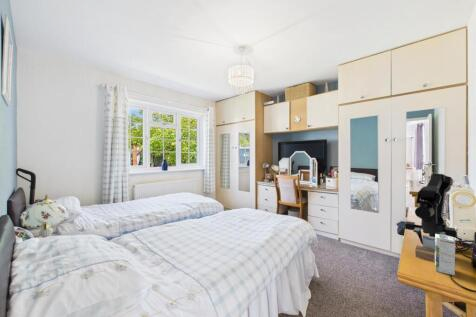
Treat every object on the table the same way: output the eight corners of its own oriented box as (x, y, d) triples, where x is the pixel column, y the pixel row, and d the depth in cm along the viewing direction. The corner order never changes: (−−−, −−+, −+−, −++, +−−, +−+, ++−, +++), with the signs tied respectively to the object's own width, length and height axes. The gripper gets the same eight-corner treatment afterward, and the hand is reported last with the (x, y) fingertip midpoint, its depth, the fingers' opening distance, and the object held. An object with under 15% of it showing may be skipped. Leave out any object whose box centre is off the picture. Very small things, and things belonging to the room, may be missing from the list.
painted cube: (422, 244, 107) (422, 235, 107) (436, 247, 104) (436, 237, 103) (422, 248, 103) (422, 238, 103) (436, 251, 100) (436, 240, 100)
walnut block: (417, 252, 105) (416, 245, 104) (436, 256, 100) (436, 249, 99) (415, 257, 100) (415, 250, 100) (435, 262, 95) (435, 255, 95)
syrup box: (434, 265, 92) (434, 233, 92) (453, 269, 88) (453, 236, 88) (435, 271, 88) (435, 237, 87) (456, 276, 84) (455, 240, 83)
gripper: (404, 215, 103) (404, 246, 103) (458, 222, 91) (458, 258, 91) (405, 210, 111) (405, 239, 112) (455, 216, 99) (455, 248, 99)
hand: (429, 245), depth 103 cm, fingers closed on painted cube, 5 cm apart
